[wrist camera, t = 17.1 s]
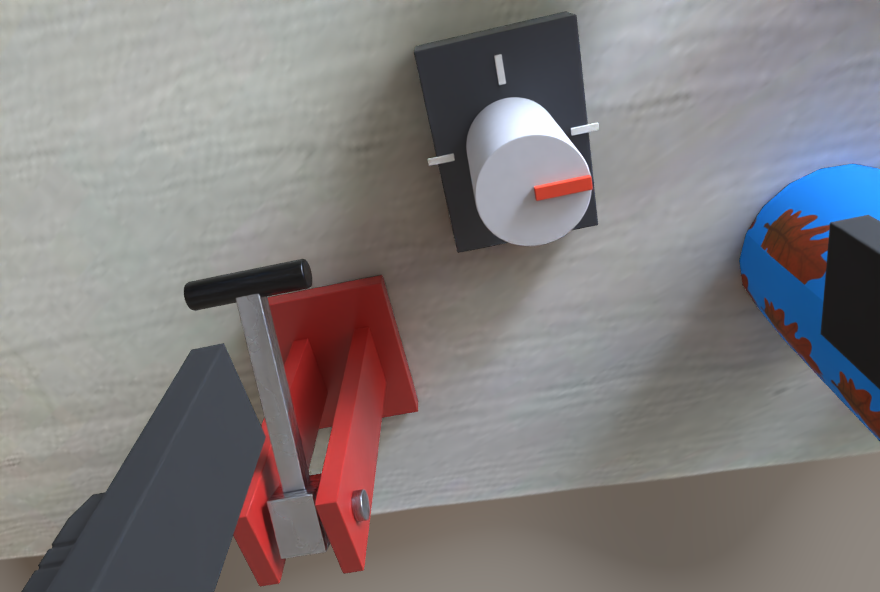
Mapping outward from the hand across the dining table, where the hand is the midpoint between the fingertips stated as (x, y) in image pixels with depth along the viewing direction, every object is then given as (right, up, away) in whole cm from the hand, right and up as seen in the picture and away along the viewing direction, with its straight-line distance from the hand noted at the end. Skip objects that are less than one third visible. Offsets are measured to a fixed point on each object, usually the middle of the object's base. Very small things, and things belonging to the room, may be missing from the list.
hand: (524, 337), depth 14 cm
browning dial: (+2, +9, +19) cm, 21 cm away
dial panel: (+2, +10, +21) cm, 24 cm away
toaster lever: (-9, -4, +16) cm, 19 cm away
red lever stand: (-8, -3, +28) cm, 29 cm away
